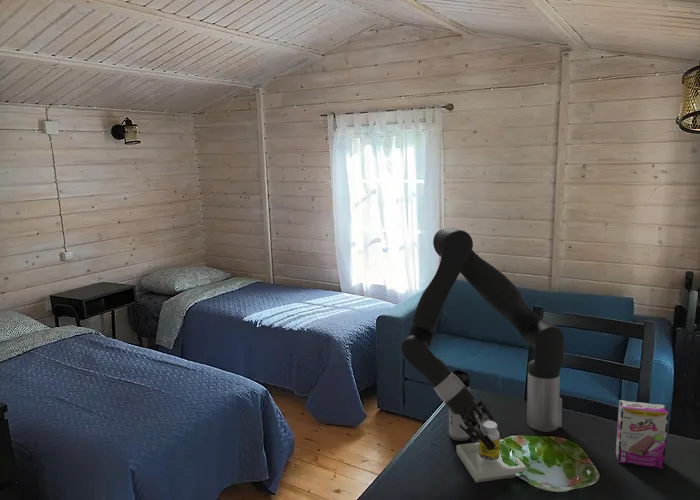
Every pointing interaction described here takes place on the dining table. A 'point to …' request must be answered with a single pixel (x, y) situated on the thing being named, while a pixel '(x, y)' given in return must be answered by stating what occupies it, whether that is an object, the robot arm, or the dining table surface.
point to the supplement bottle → (494, 435)
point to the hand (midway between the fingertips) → (495, 442)
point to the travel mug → (456, 420)
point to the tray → (486, 464)
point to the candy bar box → (641, 434)
